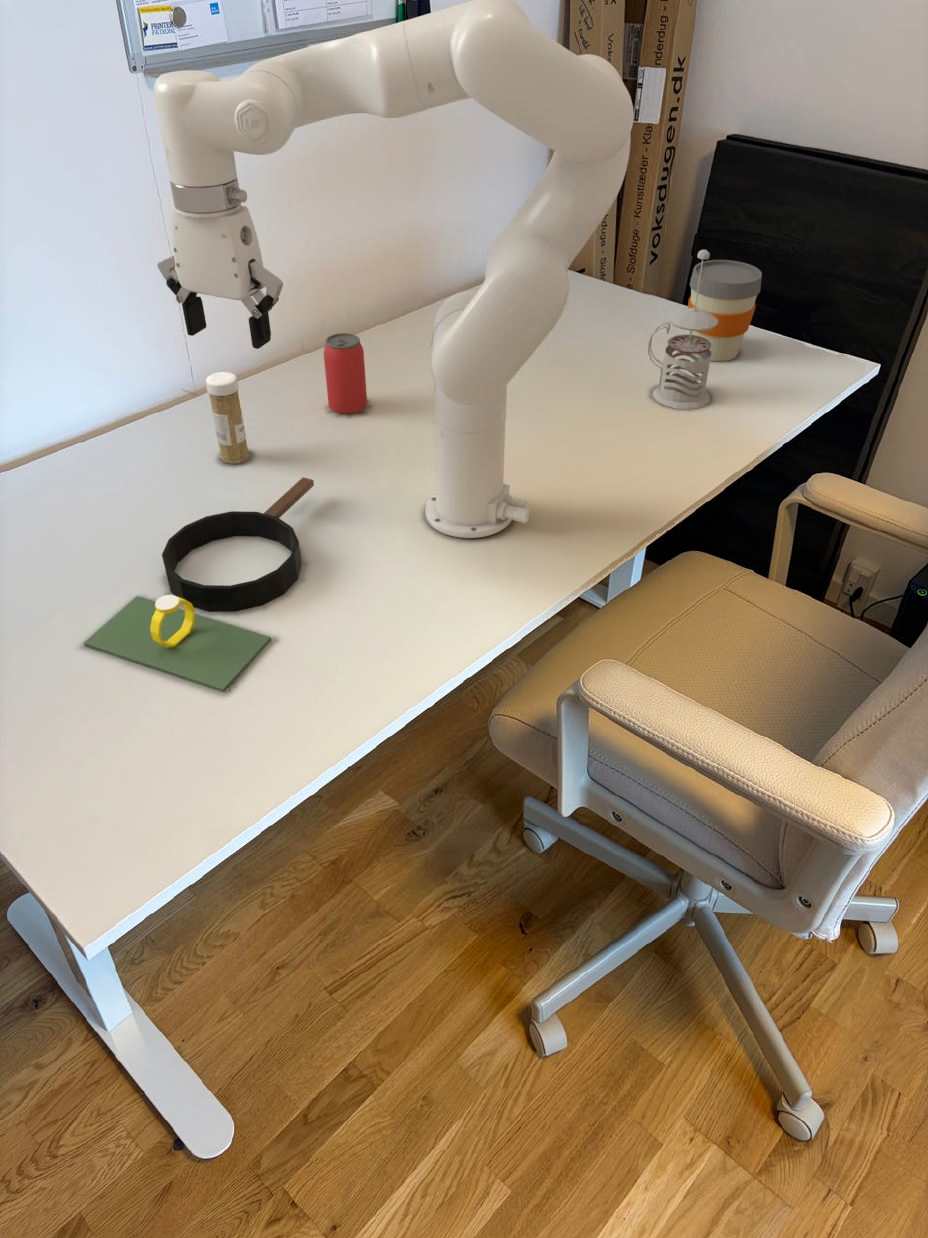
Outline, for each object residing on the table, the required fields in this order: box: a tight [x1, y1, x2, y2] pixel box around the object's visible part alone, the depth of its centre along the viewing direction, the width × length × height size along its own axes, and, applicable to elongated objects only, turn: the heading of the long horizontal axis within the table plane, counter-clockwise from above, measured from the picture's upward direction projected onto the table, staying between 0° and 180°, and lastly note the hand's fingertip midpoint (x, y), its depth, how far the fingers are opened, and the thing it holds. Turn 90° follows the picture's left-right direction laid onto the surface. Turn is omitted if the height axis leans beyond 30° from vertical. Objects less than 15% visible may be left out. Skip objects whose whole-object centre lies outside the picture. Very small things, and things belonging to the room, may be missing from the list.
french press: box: [647, 249, 718, 410], centre depth 158 cm, size 10×12×25 cm
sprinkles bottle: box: [205, 371, 250, 465], centre depth 145 cm, size 5×5×14 cm
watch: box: [150, 594, 196, 648], centre depth 113 cm, size 6×3×6 cm, turn 150°
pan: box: [161, 477, 315, 613], centre depth 129 cm, size 28×17×4 cm, turn 156°
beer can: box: [323, 332, 368, 416], centre depth 159 cm, size 7×7×12 cm
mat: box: [83, 595, 272, 693], centre depth 115 cm, size 20×10×1 cm, turn 66°
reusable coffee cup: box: [687, 259, 763, 362], centre depth 176 cm, size 13×13×15 cm
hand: (229, 337), depth 121 cm, fingers open, 9 cm apart
